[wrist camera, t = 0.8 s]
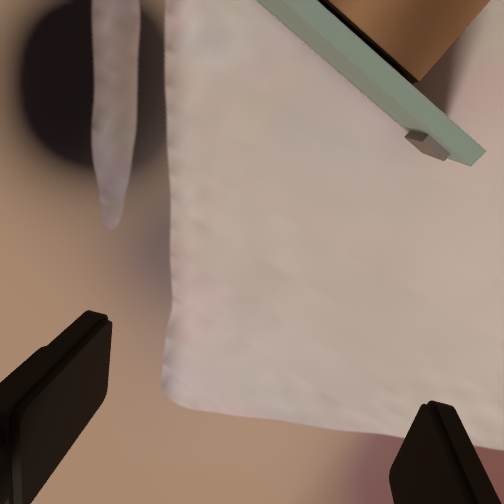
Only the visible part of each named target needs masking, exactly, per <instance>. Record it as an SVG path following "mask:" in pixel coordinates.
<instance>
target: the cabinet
mask: <svg viewBox="0 0 504 504" xmlns="http://www.w3.org/2000/svg"><path fill="white" fill-rule="evenodd" d="M317 1H318V2H319V3H321V4H322V5H323V6H324V7H325V8H326V9H327V10H328V11H330V12H331V13H332V14H333V15H334V16H335V17H336V18H337V19H339V20H340V21H341V22H342V23H343V24H344V25H345V26H346V27H348V28H349V29H350V30H351V31H352V32H353V33H354V34H355V35H357V36H358V37H359V38H360V39H361V40H362V41H363V42H364V43H365V44H367V45H368V46H369V47H370V48H371V49H372V50H373V51H374V52H376V53H377V54H378V55H379V56H380V57H381V58H382V59H383V60H385V61H386V62H387V63H388V64H389V65H390V66H391V67H392V68H394V69H395V70H396V71H397V72H398V73H399V74H400V75H401V76H403V77H404V78H405V79H406V80H407V81H408V82H409V83H410V84H411V83H415V82H419V81H420V80H421V79H422V78H423V77H424V76H425V75H426V73H427V72H428V71H429V70H430V69H431V68H432V67H433V65H434V64H435V63H436V62H437V61H438V60H439V58H440V57H441V56H442V55H443V54H444V53H445V52H446V50H447V49H448V48H449V47H450V46H451V45H452V44H453V42H454V41H455V40H456V39H457V38H458V37H459V35H460V34H461V33H462V32H463V31H464V30H465V29H466V27H467V26H468V25H469V24H470V23H471V22H472V20H473V19H474V18H475V17H476V16H477V15H478V14H479V12H480V11H481V10H482V9H483V8H484V7H485V5H486V4H487V3H488V2H489V1H490V0H317Z"/></svg>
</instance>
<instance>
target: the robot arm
mask: <svg viewBox="0 0 504 504" xmlns="http://www.w3.org/2000/svg"><path fill="white" fill-rule="evenodd" d="M111 336H112V322H111V321H109V320H108V317H107V315H105V314H101V313H97V312H93V311H90V310H88V311H86V312H84V313H83V314H82V315H81V316H80V317H79V318H77V319H76V320H75V321H74V322H73V323H72V324H71V325H70V326H69V327H67V328H66V329H65V330H64V331H63V332H62V333H61V334H60V335H58V336H57V337H56V338H55V339H54V340H53V341H52V342H51V343H50V344H49V345H47V346H44V347H41V348H40V349H38V350H37V351H36V352H35V353H33V354H32V355H31V356H30V357H29V358H28V359H27V360H26V361H24V362H23V363H22V364H21V365H20V366H19V367H18V368H16V369H15V370H14V371H13V372H12V373H11V374H10V375H8V377H6V378H5V379H4V380H3V381H2V382H1V383H0V504H30V503H32V501H33V500H34V498H35V497H36V496H37V494H38V493H39V491H40V490H41V488H42V487H43V485H44V484H45V483H46V482H47V480H48V479H49V477H50V475H51V474H52V473H53V472H54V470H55V469H56V467H57V466H58V464H59V463H60V462H61V460H62V459H63V457H64V456H65V455H66V453H67V452H68V450H69V449H70V448H71V446H72V445H73V443H74V442H75V441H76V439H77V438H78V436H79V435H80V434H81V432H82V431H83V429H84V428H85V427H86V425H87V424H88V422H89V421H90V419H91V418H92V417H93V415H94V414H95V412H96V411H97V410H98V408H99V407H100V405H101V404H102V402H103V401H104V399H105V396H106V393H107V387H108V375H109V362H110V349H111ZM389 481H390V487H391V492H392V496H393V501H394V504H501V502H500V500H499V498H498V496H497V494H496V492H495V490H494V488H493V486H492V484H491V482H490V480H489V478H488V475H487V473H486V472H485V470H484V467H483V465H482V463H481V461H480V459H479V457H478V455H477V453H476V451H475V449H474V447H473V445H472V443H471V441H470V439H469V436H468V434H467V432H466V430H465V428H464V426H463V424H462V422H461V420H460V418H459V416H458V414H457V412H456V410H455V408H454V407H453V406H451V405H447V404H444V403H440V402H436V401H429V402H428V404H422V405H421V407H420V409H419V411H418V413H417V415H416V417H415V419H414V421H413V423H412V425H411V427H410V429H409V431H408V433H407V435H406V437H405V440H404V442H403V444H402V446H401V448H400V450H399V452H398V454H397V456H396V458H395V460H394V462H393V464H392V467H391V469H390V473H389Z"/></svg>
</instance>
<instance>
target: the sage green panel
mask: <svg viewBox="0 0 504 504" xmlns="http://www.w3.org/2000/svg"><path fill="white" fill-rule="evenodd" d="M256 1H257V2H259V3H260V4H261V5H262V6H263V7H264V8H266V9H267V10H268V11H269V12H270V13H271V14H272V15H274V16H275V17H276V18H277V19H278V20H279V21H280V22H282V23H283V24H284V25H285V26H286V27H287V28H289V29H290V30H291V31H292V32H293V33H294V34H295V35H297V36H298V37H299V38H300V39H301V40H302V41H303V42H305V43H306V44H307V45H308V46H309V47H310V48H312V49H313V50H314V51H315V52H316V53H317V54H318V55H320V56H321V57H322V58H323V59H324V60H325V61H327V62H328V63H329V64H330V65H331V66H332V67H333V68H335V69H336V70H337V71H338V72H339V73H340V74H341V75H343V76H344V77H345V78H346V79H347V80H348V81H350V82H351V83H352V84H353V85H354V86H355V87H356V88H358V89H359V90H360V91H361V92H362V93H363V94H364V95H366V96H367V97H368V98H369V99H370V100H371V101H373V102H374V103H375V104H376V105H377V106H378V107H379V108H381V109H382V110H383V111H384V112H385V113H386V114H387V115H389V116H390V117H391V118H392V119H393V120H394V121H396V122H397V123H398V124H399V125H400V126H401V127H402V128H404V129H405V130H406V131H407V132H408V134H407V135H406V136H405V138H406V139H407V140H408V141H409V142H410V143H412V144H413V145H414V146H415V147H416V148H417V149H418V150H420V151H421V152H422V153H423V154H426V155H429V156H432V157H434V158H437V159H440V160H442V161H445V160H446V159H447V158H448V159H451V160H453V161H456V162H459V163H462V164H465V165H468V166H472V165H473V164H474V163H475V162H476V161H477V160H478V159H479V158H480V157H481V156H482V155H483V154H484V153H485V152H486V150H485V149H483V148H482V147H481V146H480V145H479V144H478V143H477V142H476V141H474V140H473V139H472V138H471V137H470V136H469V135H468V134H467V133H465V132H464V131H463V130H462V129H461V128H460V127H459V126H458V125H457V124H455V123H454V122H453V121H452V120H451V119H450V118H449V117H448V116H446V115H445V114H444V113H443V112H442V111H441V110H440V109H439V108H437V107H436V106H435V105H434V104H433V103H432V102H431V101H430V100H428V99H427V98H426V97H425V96H424V95H423V94H422V93H421V92H419V91H418V90H417V89H416V88H415V87H414V86H413V85H412V84H410V83H409V82H408V81H407V80H406V79H405V78H404V77H403V76H401V75H400V74H399V73H398V72H397V71H396V70H395V69H394V68H392V67H391V66H390V65H389V64H388V63H387V62H386V61H385V60H383V59H382V58H381V57H380V56H379V55H378V54H377V53H376V52H374V51H373V50H372V49H371V48H370V47H369V46H368V45H367V44H365V43H364V42H363V41H362V40H361V39H360V38H359V37H358V36H357V35H355V34H354V33H353V32H352V31H351V30H350V29H349V28H348V27H346V26H345V25H344V24H343V23H342V22H341V21H340V20H339V19H337V18H336V17H335V16H334V15H333V14H332V13H331V12H330V11H328V10H327V9H326V8H325V7H324V6H323V5H322V4H321V3H319V2H318V1H317V0H256Z"/></svg>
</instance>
